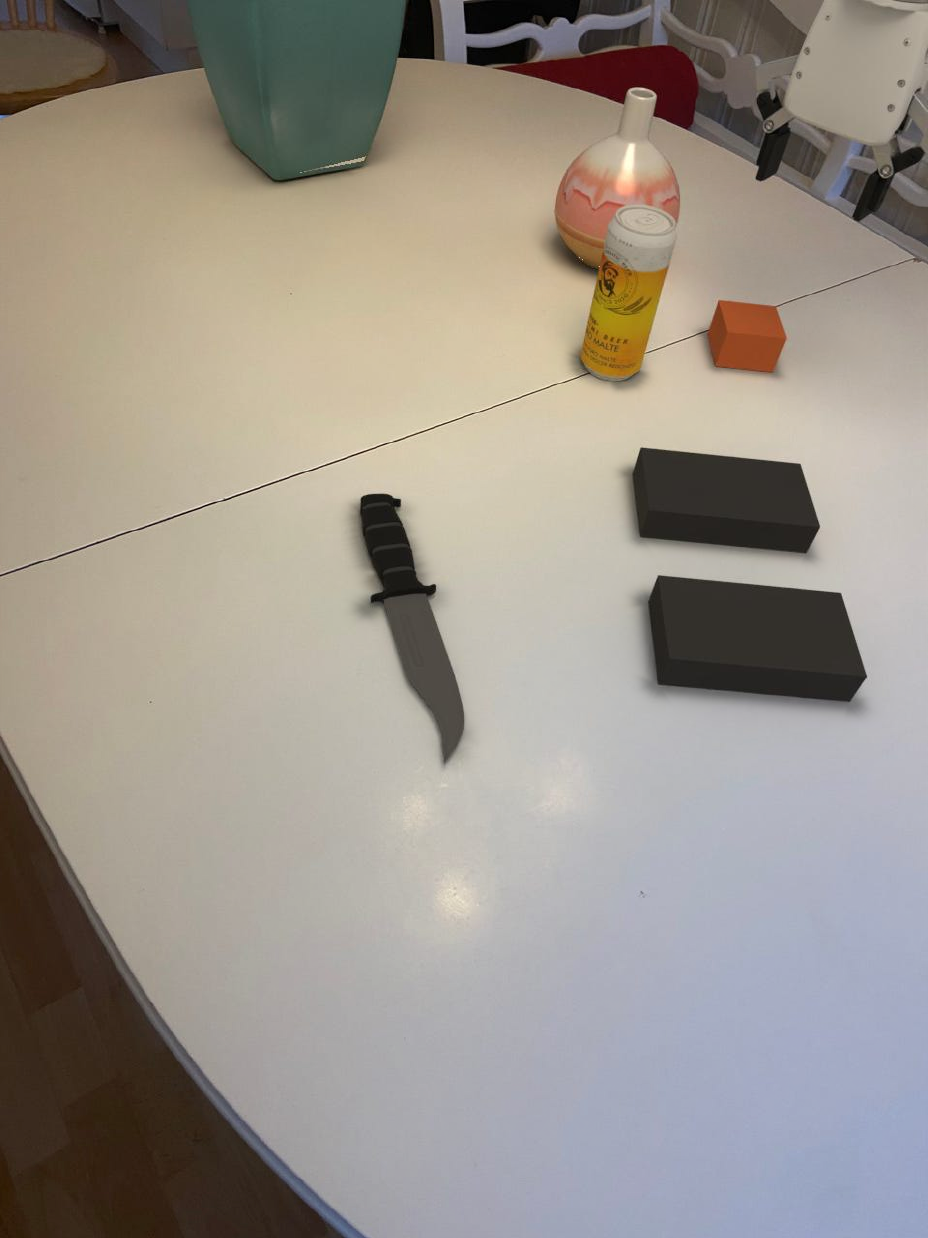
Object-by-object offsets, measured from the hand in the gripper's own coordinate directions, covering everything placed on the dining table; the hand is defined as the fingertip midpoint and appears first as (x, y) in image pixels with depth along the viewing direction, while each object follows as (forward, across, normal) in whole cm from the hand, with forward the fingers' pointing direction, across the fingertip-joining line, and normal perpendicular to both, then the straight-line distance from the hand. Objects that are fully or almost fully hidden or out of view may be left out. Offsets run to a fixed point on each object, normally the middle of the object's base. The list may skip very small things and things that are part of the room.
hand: (812, 195), depth 84 cm
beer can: (+17, +9, +13) cm, 23 cm away
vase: (+17, +22, -5) cm, 28 cm away
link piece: (+16, +1, +1) cm, 17 cm away
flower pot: (+17, +63, +4) cm, 65 cm away
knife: (+17, 0, +52) cm, 55 cm away
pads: (+16, -14, +31) cm, 38 cm away
